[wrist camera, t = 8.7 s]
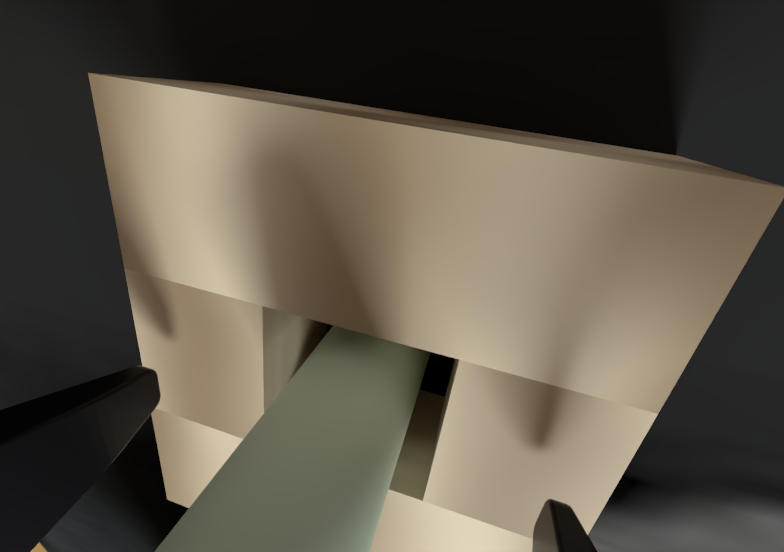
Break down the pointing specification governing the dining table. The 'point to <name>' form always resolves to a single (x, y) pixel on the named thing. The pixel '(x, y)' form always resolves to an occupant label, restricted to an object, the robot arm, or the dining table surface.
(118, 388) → the robot arm
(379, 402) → the peg
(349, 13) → the dining table surface
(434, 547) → the hole board
